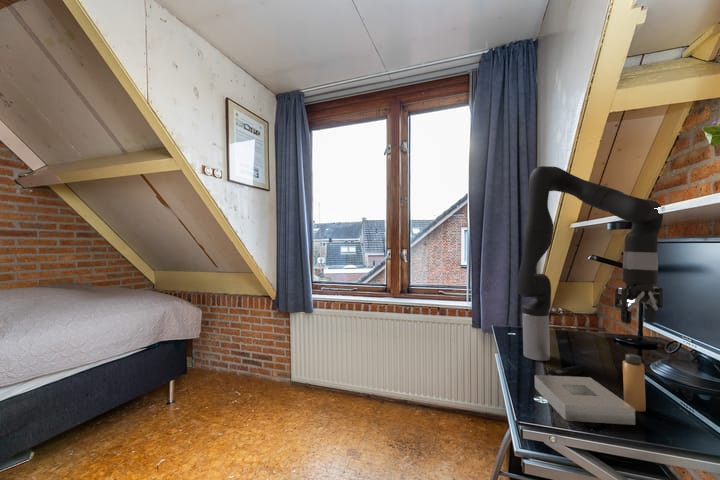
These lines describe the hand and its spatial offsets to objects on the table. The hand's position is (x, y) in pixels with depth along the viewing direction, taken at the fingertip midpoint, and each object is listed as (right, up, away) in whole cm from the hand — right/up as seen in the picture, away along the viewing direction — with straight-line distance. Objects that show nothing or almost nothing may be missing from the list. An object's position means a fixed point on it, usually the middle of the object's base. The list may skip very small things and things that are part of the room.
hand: (638, 322), depth 88 cm
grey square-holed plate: (-20, -22, -4) cm, 30 cm away
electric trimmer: (-12, -23, +14) cm, 30 cm away
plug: (-6, -22, -5) cm, 23 cm away
